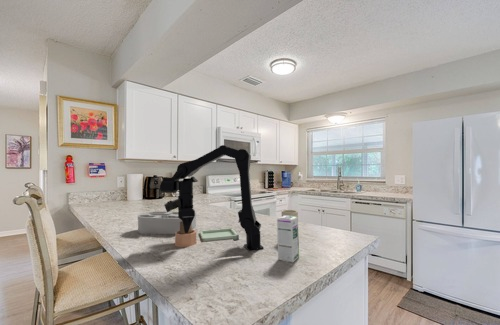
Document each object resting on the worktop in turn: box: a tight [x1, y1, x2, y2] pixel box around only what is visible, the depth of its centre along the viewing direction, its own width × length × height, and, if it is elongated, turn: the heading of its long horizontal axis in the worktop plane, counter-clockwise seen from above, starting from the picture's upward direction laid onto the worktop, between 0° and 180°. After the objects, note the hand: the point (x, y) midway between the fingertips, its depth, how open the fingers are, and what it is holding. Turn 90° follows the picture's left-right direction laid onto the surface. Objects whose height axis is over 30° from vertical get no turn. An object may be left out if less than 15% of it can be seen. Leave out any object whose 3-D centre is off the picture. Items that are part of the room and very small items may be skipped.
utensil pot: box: [174, 229, 197, 248], centre depth 96 cm, size 9×9×6 cm
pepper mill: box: [180, 221, 192, 234], centre depth 96 cm, size 5×5×10 cm
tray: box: [199, 227, 240, 243], centre depth 107 cm, size 14×16×2 cm
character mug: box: [281, 209, 299, 218], centre depth 101 cm, size 11×7×13 cm, turn 164°
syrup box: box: [276, 215, 300, 263], centre depth 81 cm, size 6×6×14 cm
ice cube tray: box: [137, 211, 197, 236], centre depth 120 cm, size 17×28×9 cm, turn 79°
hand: (185, 230), depth 96 cm, fingers open, 9 cm apart
